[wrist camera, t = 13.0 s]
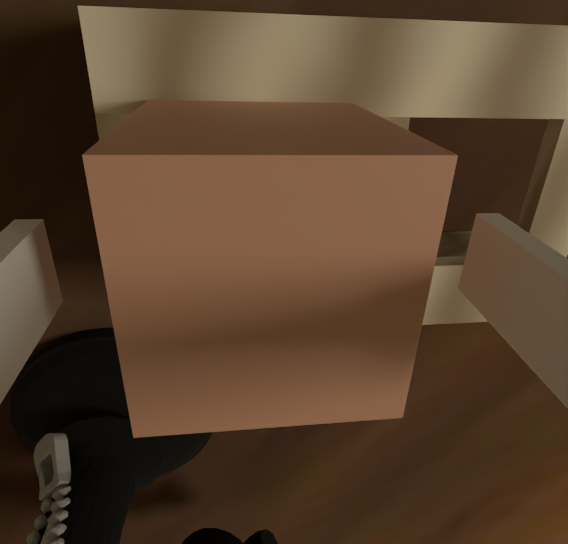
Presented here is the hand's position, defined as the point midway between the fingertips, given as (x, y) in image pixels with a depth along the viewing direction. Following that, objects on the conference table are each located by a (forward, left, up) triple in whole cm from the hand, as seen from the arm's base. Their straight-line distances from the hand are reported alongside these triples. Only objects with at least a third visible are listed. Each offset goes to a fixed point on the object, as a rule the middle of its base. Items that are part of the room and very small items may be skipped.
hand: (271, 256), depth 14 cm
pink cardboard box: (0, 0, -9) cm, 9 cm away
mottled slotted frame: (-5, 0, -15) cm, 16 cm away
